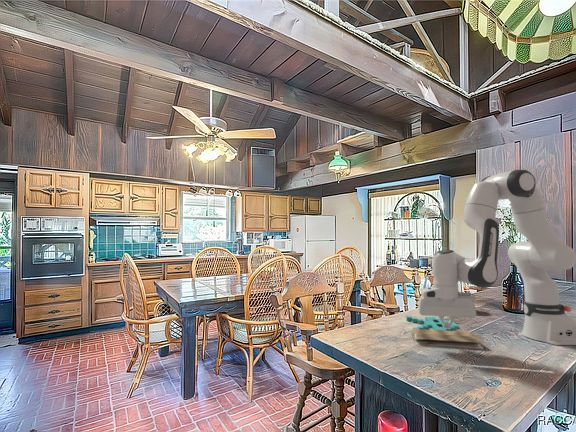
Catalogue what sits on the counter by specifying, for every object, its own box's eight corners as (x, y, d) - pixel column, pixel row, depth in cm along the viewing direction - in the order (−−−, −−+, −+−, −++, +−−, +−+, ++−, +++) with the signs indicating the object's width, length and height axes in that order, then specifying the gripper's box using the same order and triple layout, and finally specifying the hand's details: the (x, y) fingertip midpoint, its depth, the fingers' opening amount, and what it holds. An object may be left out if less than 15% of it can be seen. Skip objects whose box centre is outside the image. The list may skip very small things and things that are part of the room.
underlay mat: (473, 338, 129) (473, 336, 129) (484, 350, 116) (484, 349, 116) (411, 334, 135) (411, 333, 135) (415, 346, 122) (415, 344, 122)
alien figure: (414, 334, 137) (464, 336, 133) (414, 329, 137) (463, 331, 133) (406, 320, 157) (449, 322, 153) (406, 316, 157) (449, 317, 153)
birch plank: (477, 343, 122) (476, 337, 123) (482, 342, 117) (481, 336, 118) (414, 339, 128) (414, 334, 129) (416, 338, 123) (416, 333, 124)
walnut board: (471, 337, 129) (471, 332, 129) (477, 342, 123) (476, 337, 123) (412, 333, 135) (412, 328, 135) (414, 338, 129) (414, 333, 129)
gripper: (472, 291, 122) (474, 326, 122) (416, 289, 128) (418, 323, 127) (478, 294, 116) (479, 331, 116) (419, 292, 122) (420, 328, 121)
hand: (447, 327), depth 122 cm, fingers closed
